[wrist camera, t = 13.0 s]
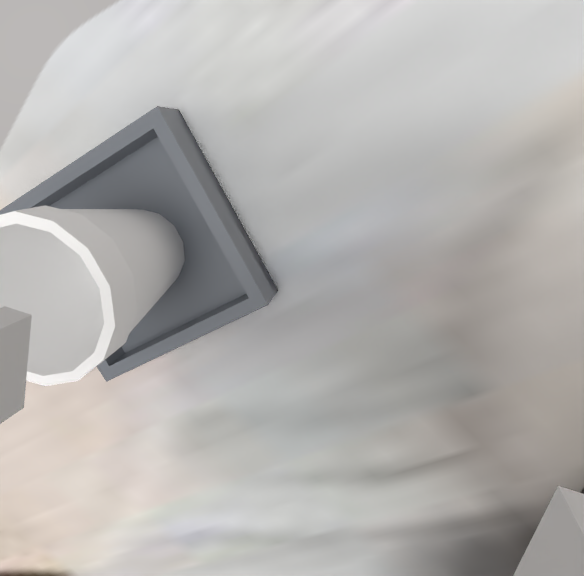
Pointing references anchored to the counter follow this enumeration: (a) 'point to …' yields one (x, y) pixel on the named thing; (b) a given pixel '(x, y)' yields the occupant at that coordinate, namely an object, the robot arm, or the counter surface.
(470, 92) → the counter surface
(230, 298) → the bin
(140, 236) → the foam cup
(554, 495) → the robot arm
